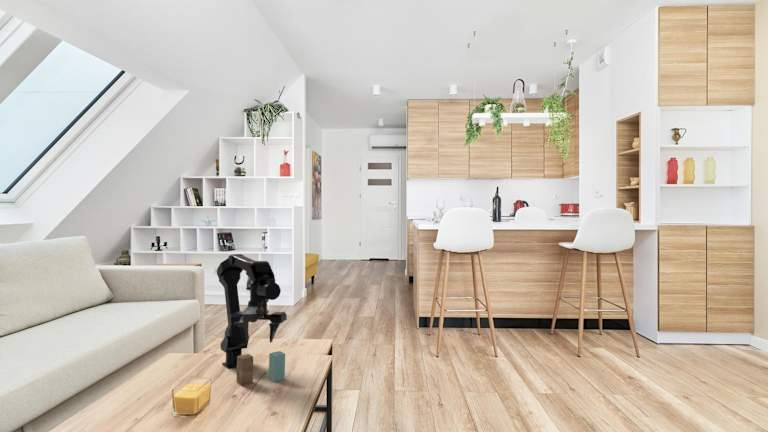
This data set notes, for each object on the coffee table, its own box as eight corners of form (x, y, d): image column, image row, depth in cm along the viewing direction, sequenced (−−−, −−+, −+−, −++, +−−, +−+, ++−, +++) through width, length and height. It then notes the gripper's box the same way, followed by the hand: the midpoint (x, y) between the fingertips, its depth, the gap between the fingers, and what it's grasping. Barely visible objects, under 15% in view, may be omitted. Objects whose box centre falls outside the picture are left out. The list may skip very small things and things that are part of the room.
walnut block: (236, 382, 139) (237, 356, 139) (247, 379, 142) (248, 353, 142) (241, 386, 136) (242, 359, 136) (252, 382, 139) (253, 356, 139)
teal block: (268, 378, 143) (269, 353, 143) (279, 376, 146) (279, 350, 146) (274, 382, 140) (274, 356, 140) (284, 379, 143) (285, 353, 143)
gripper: (221, 300, 136) (221, 347, 135) (274, 300, 133) (274, 348, 133) (238, 295, 147) (237, 339, 146) (287, 296, 144) (287, 340, 144)
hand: (258, 341), depth 142 cm, fingers open, 9 cm apart
